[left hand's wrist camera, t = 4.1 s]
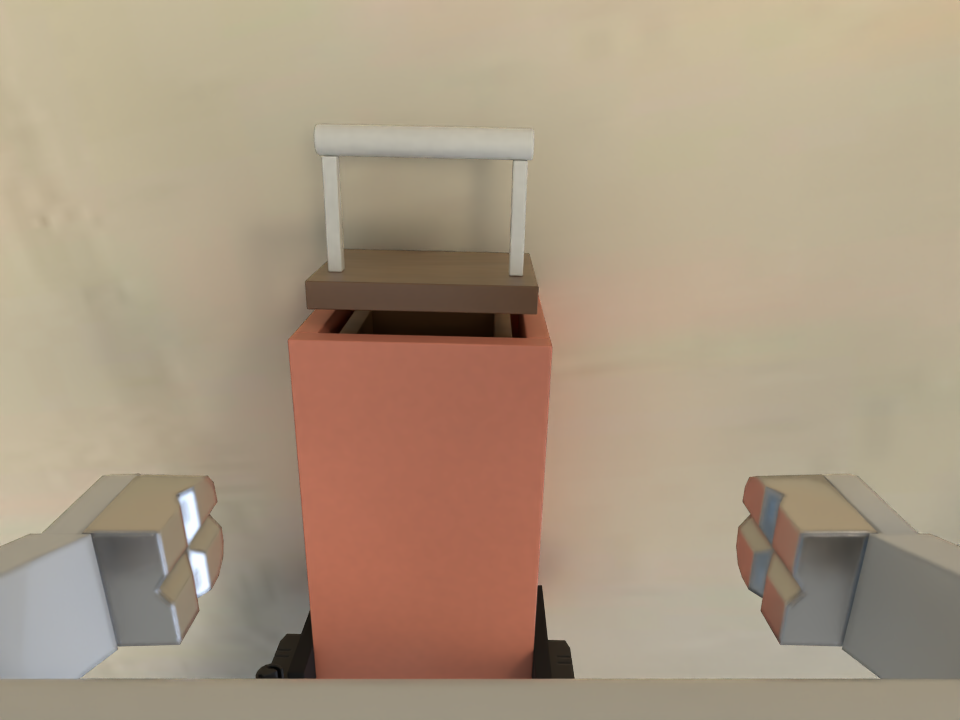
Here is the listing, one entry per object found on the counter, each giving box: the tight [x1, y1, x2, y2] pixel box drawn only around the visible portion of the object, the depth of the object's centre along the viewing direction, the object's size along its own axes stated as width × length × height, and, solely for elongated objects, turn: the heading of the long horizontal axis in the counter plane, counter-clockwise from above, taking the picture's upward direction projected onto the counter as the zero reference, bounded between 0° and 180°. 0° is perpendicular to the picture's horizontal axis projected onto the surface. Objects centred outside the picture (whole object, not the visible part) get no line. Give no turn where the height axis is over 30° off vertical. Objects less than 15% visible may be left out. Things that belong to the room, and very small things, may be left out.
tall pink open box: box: [288, 295, 552, 679], centre depth 35 cm, size 21×11×9 cm, turn 179°
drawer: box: [305, 124, 539, 338], centre depth 33 cm, size 26×10×7 cm, turn 179°
